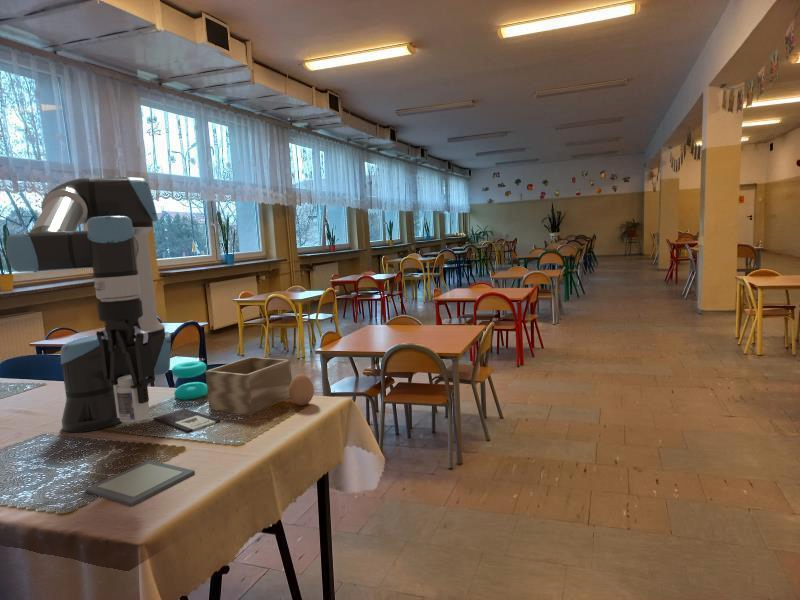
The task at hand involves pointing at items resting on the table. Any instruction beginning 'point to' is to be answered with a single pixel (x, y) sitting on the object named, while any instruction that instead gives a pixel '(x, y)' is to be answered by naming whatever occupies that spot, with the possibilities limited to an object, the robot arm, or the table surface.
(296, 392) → the egg
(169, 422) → the chocolate bar
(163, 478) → the coaster
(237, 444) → the table surface
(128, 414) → the pill bottle
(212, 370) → the bin
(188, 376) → the donuts
